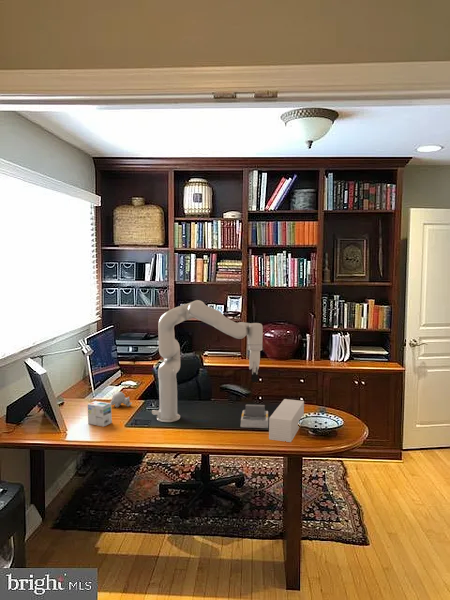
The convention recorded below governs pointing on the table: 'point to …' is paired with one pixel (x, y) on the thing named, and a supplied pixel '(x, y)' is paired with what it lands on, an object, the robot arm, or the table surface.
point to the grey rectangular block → (286, 420)
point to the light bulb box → (99, 413)
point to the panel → (255, 410)
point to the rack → (254, 421)
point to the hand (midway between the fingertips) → (254, 381)
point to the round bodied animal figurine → (120, 399)
